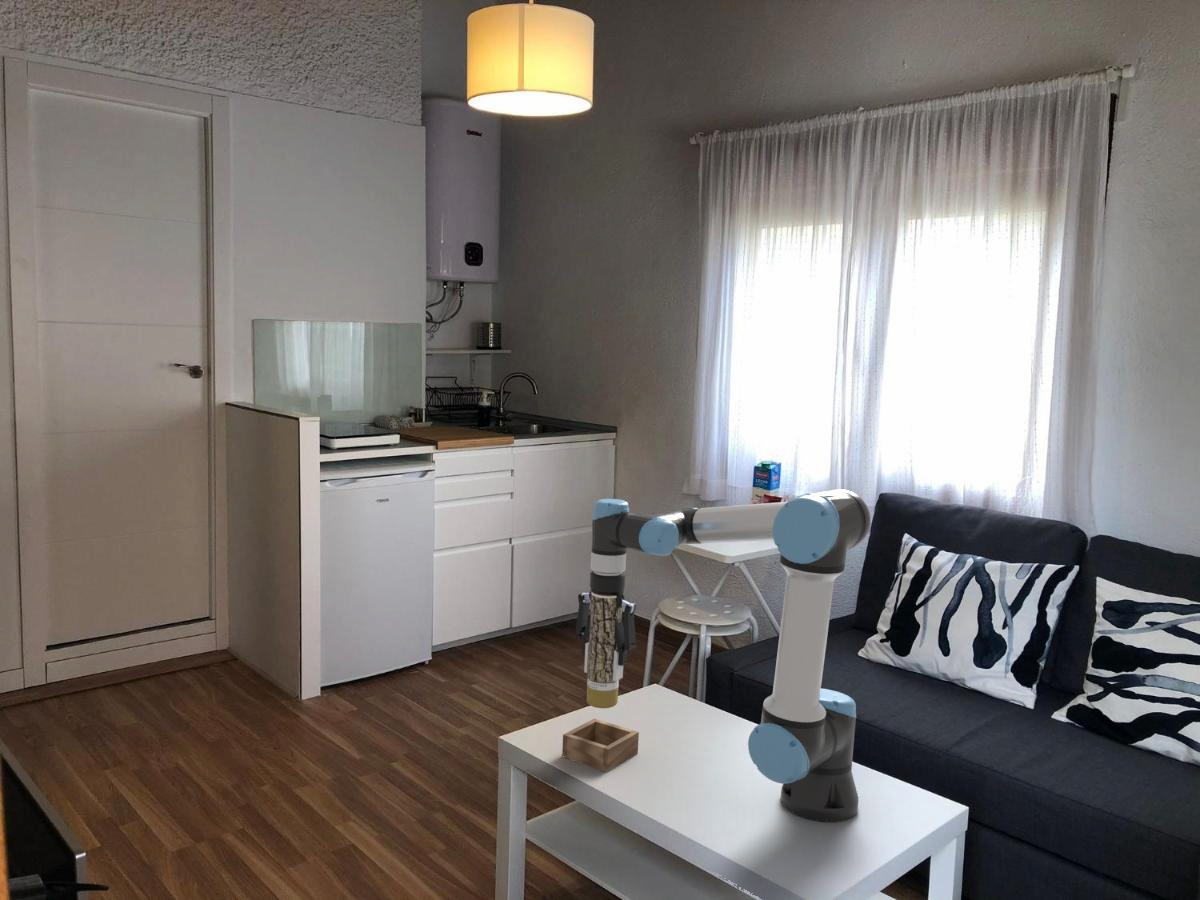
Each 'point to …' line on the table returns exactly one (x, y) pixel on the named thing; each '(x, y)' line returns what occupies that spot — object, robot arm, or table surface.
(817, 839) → the table surface
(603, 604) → the paper tube
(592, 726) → the holder
